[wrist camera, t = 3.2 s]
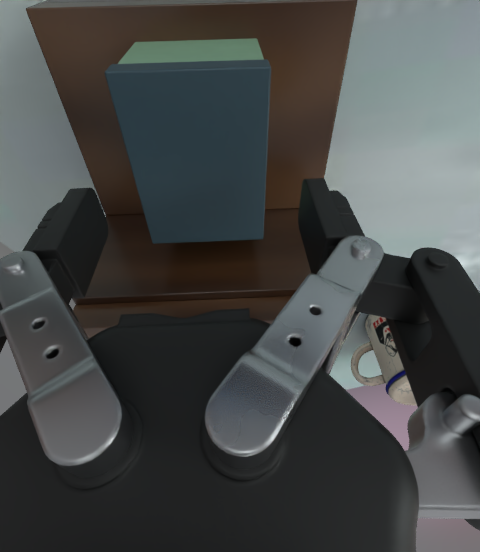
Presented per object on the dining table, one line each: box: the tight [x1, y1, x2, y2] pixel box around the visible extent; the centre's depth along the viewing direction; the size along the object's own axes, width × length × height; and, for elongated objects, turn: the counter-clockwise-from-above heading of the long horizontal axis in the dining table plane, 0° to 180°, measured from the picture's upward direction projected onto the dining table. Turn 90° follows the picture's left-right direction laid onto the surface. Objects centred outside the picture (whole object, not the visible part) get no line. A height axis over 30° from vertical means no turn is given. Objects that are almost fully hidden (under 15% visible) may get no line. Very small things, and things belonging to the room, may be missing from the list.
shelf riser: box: [26, 0, 357, 374], centre depth 20 cm, size 22×14×14 cm, turn 1°
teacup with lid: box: [351, 314, 417, 405], centre depth 36 cm, size 12×9×12 cm
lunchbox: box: [105, 38, 271, 244], centre depth 15 cm, size 8×6×5 cm
